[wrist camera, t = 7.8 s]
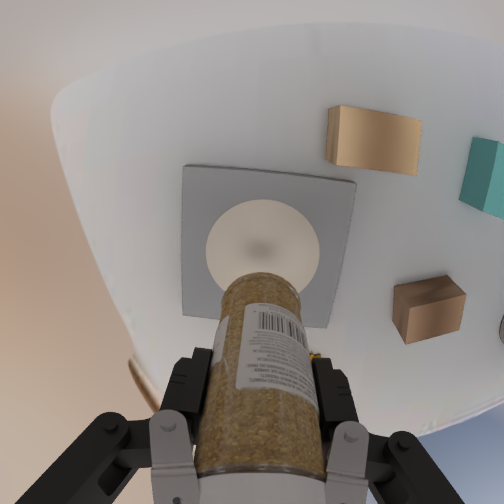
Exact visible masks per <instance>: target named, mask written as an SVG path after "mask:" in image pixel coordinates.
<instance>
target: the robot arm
mask: <svg viewBox="0 0 504 504" xmlns="http://www.w3.org/2000/svg"><path fill="white" fill-rule="evenodd" d="M500 338H501V340H502V342H503V343H504V318H503V321H502V324H501V328H500ZM211 356H212V349H205V348H197V347H195V349H194V352H193V356H192V359H191V358H184V357H182V358H181V359H180V360H179V361H178V362H177V363H176V364H175V365H174V368H173V371H172V375H171V377H170V380H169V383H168V386H167V389H166V392H165V395H164V398H163V401H162V404H161V407H160V410H159V411H158V412H156V413H155V414H154V415H153V416H152V417H151V418H149V419H145V420H137V421H127V420H126V419H125V417H124V416H122V415H121V414H119V413H115V412H106V413H103V414H101V415H99V416H98V417H97V418H96V419H95V420H94V421H93V422H92V423H91V424H90V425H89V426H88V427H87V428H86V429H85V430H84V431H83V432H82V433H81V434H80V435H79V436H78V437H77V439H76V440H75V441H74V442H73V443H72V444H71V445H70V446H69V447H68V448H67V449H66V450H65V451H64V452H63V453H62V454H61V456H59V457H58V459H57V460H56V461H55V462H54V463H53V464H52V465H51V466H50V467H49V468H48V469H47V470H46V471H45V472H44V473H43V474H42V475H41V477H39V479H38V480H37V481H36V482H35V483H34V484H33V485H32V486H31V487H30V488H29V489H28V490H27V491H26V492H25V493H24V495H22V496H21V497H20V499H19V500H18V501H17V502H16V503H15V504H112V503H113V502H114V500H115V499H116V498H117V496H118V495H119V494H120V493H121V491H122V490H123V489H124V487H125V486H126V485H127V483H128V482H129V481H130V479H131V478H132V477H133V475H134V474H135V473H136V471H137V470H138V469H139V468H148V467H152V469H151V482H152V491H153V499H154V504H179V503H181V504H200V489H199V484H198V480H197V475H196V470H195V466H194V462H193V456H192V451H193V446H194V445H197V437H198V431H199V427H200V422H201V418H202V411H203V406H204V400H205V394H206V388H207V384H208V374H209V366H210V361H211ZM311 365H312V370H313V376H314V382H315V388H316V394H317V400H318V407H319V413H320V423H319V426H320V431H321V440H322V448H323V454H324V460H325V471H324V472H325V473H326V476H325V479H324V483H325V499H326V504H365V503H366V497H367V491H368V487H369V489H370V491H371V492H372V494H373V496H374V498H375V499H376V501H377V503H378V504H465V503H464V502H463V501H462V499H461V498H460V496H459V495H458V494H457V493H456V491H455V490H454V488H453V487H452V485H451V484H450V483H449V481H448V480H447V479H446V477H445V476H444V474H443V473H442V472H441V470H440V469H439V468H438V466H437V465H436V464H435V462H434V461H433V459H432V458H431V457H430V455H429V454H428V453H427V451H426V450H425V449H424V447H423V446H422V445H421V443H420V442H419V441H418V439H417V438H416V437H415V436H414V435H413V434H411V433H409V432H406V431H398V432H395V433H393V434H392V435H391V436H390V437H384V436H379V435H374V434H371V433H369V432H368V431H367V429H366V428H365V427H364V426H363V425H362V424H360V423H359V420H358V416H357V413H356V409H355V405H354V401H353V397H352V396H351V390H350V388H349V387H350V386H349V383H348V379H347V377H346V376H345V374H344V373H343V372H342V371H341V370H340V369H333V367H332V363H331V359H330V358H315V357H313V358H312V361H311Z"/></svg>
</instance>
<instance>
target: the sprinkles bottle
mask: <svg viewBox="0 0 504 504" xmlns="http://www.w3.org/2000/svg"><path fill="white" fill-rule="evenodd" d="M300 310H301V302H300V298H299V295H298V293H297V291H296V289H295V288H294V287H293V286H292V285H291V283H289V282H288V281H287V280H285V279H284V278H283V277H280V276H278V275H275V274H272V273H268V272H255V273H251V274H246V275H244V276H241V277H239V278H237V279H236V280H235V281H233V282H232V283H231V284H230V285H229V287H228V288H227V290H226V291H225V293H224V295H223V297H222V301H221V318H220V322H219V326H218V328H217V331H216V335H215V340H214V345H213V350H212V356H211V361H210V366H209V374H208V384H207V388H206V394H205V400H204V406H203V411H202V418H201V422H200V427H199V431H198V437H197V445H196V450H195V456H194V466H195V470H196V475H197V480H198V484H199V489H200V504H326V499H325V483H324V479H325V476H326V473H325V472H324V471H325V460H324V454H323V448H322V440H321V431H320V426H319V423H320V413H319V407H318V400H317V394H316V388H315V382H314V376H313V370H312V365H311V359H310V354H309V349H308V343H307V338H306V334H305V330H304V328H303V326H302V320H301V315H300ZM179 504H181V503H179Z"/></svg>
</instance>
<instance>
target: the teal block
mask: <svg viewBox="0 0 504 504" xmlns="http://www.w3.org/2000/svg"><path fill="white" fill-rule="evenodd" d="M459 200H461V201H463V202H465V203H467V204H469V205H471V206H473V207H475V208H477V209H479V210H481V211H483V212H486V213H489V214H491V215H494V216H496V217H499V218H501V219H504V144H502V143H500V142H499V141H493V140H487V139H480V138H474V137H473V138H472V144H471V149H470V154H469V159H468V164H467V168H466V173H465V177H464V181H463V185H462V189H461V193H460V197H459Z"/></svg>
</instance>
